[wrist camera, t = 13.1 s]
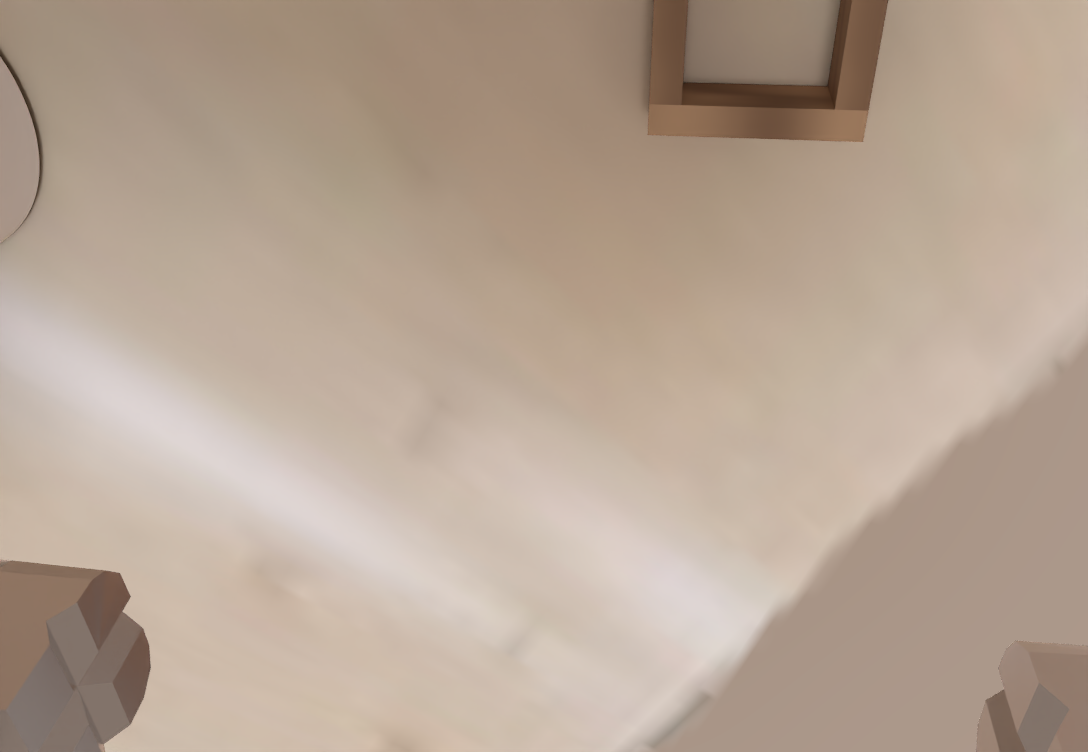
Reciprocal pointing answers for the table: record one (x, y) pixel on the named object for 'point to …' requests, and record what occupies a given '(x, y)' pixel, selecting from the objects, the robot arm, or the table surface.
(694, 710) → the table surface
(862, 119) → the collar
